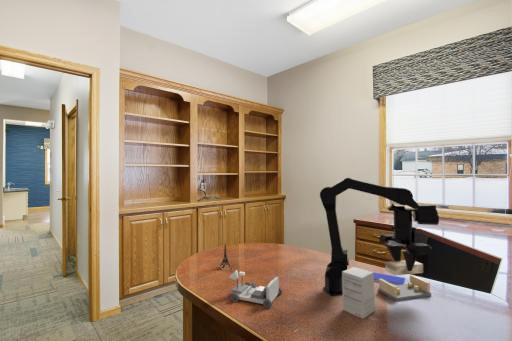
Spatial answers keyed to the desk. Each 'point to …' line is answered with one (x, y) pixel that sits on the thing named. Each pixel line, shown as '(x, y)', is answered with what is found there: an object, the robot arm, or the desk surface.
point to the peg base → (406, 289)
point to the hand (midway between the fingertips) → (404, 268)
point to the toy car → (255, 291)
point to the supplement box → (358, 291)
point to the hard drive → (389, 279)
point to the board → (402, 268)
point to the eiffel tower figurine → (225, 258)
